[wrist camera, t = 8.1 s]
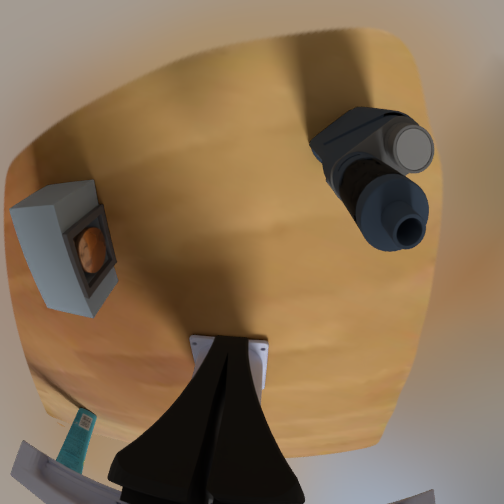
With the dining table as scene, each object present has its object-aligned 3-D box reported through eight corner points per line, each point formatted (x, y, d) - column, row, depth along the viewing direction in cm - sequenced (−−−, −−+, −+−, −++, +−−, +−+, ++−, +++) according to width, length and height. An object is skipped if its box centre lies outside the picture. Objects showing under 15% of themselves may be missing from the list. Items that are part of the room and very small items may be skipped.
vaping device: (300, 145, 16) (348, 224, 6) (360, 99, 14) (487, 115, 4) (324, 174, 17) (391, 287, 7) (382, 130, 15) (510, 190, 5)
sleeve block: (73, 275, 24) (47, 307, 19) (47, 185, 19) (9, 208, 14) (122, 281, 24) (98, 319, 19) (98, 178, 18) (58, 204, 14)
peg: (56, 253, 22) (35, 274, 18) (46, 220, 20) (22, 239, 17) (109, 257, 21) (89, 282, 18) (100, 219, 19) (75, 241, 16)
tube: (79, 410, 49) (57, 469, 32) (73, 403, 46) (48, 464, 30) (103, 421, 49) (83, 483, 33) (98, 414, 47) (75, 479, 30)
